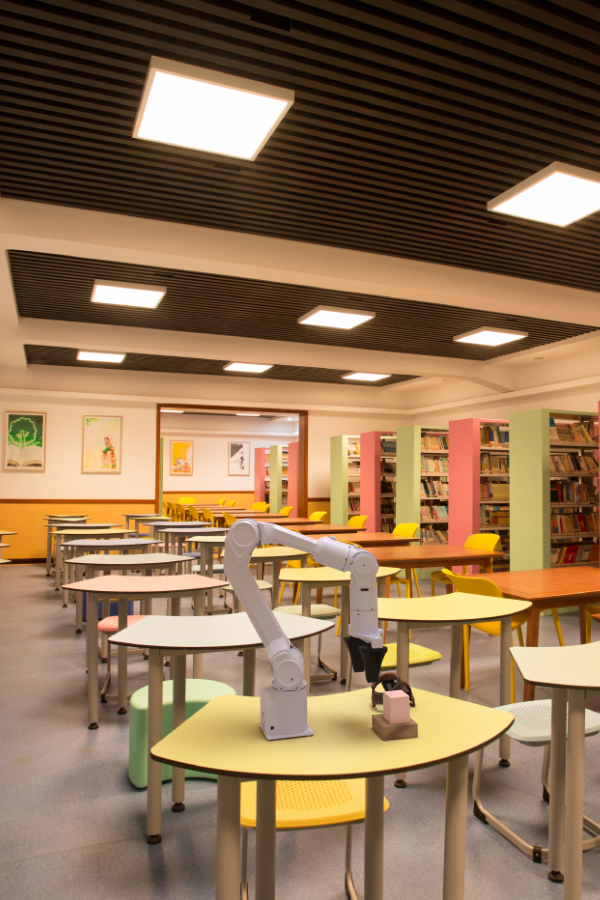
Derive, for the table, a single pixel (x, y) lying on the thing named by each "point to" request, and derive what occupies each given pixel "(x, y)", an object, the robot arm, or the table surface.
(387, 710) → the pink block
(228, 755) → the table surface
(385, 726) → the brown block
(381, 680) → the brown curved piece
